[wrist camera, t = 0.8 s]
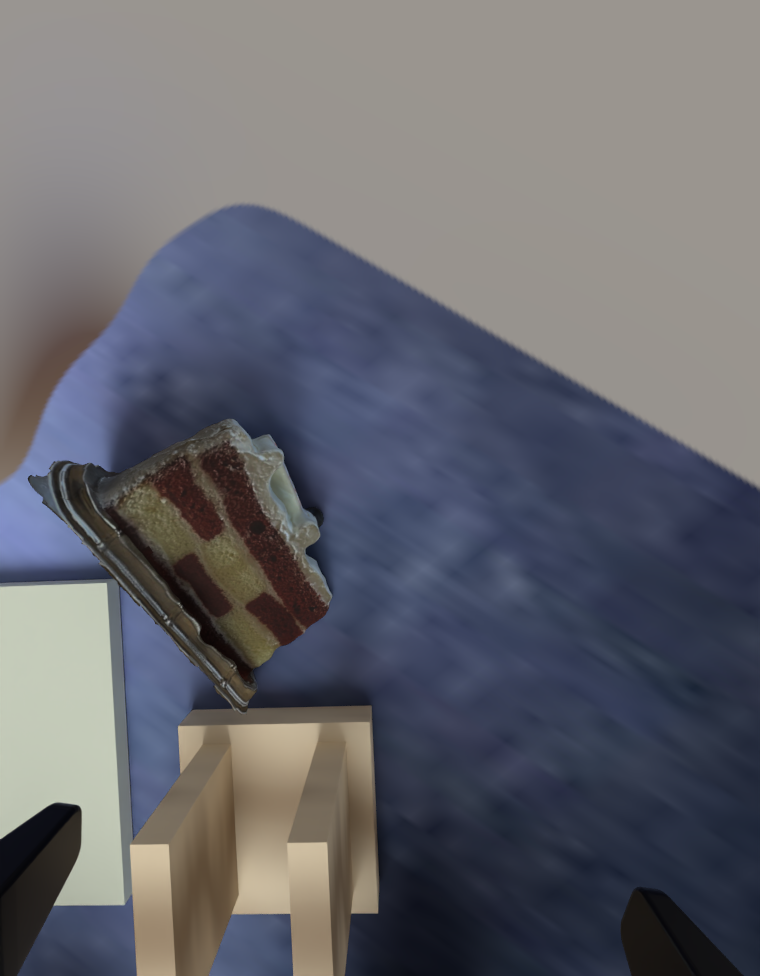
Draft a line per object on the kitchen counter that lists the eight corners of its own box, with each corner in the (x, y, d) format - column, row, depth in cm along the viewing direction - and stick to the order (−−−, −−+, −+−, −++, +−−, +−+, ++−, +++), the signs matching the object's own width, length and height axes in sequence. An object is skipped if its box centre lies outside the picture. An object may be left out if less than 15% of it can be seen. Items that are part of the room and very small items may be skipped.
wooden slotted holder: (379, 880, 20) (370, 1078, 13) (203, 881, 20) (110, 1076, 13) (371, 703, 19) (359, 815, 13) (194, 707, 20) (96, 819, 13)
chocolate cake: (392, 626, 20) (298, 413, 11) (253, 730, 18) (22, 567, 10) (303, 511, 26) (201, 320, 18) (195, 579, 24) (25, 403, 16)
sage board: (135, 888, 20) (124, 905, 19) (-99, 890, 20) (-119, 907, 19) (118, 578, 20) (106, 582, 19) (-119, 587, 20) (-140, 591, 19)
